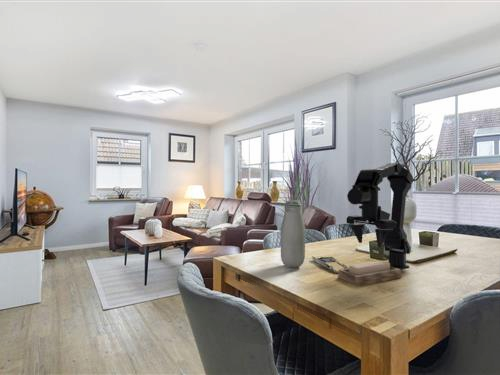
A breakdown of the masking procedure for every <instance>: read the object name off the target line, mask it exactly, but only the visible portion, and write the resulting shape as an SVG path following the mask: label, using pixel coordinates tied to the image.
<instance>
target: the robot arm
mask: <svg viewBox="0 0 500 375" xmlns="http://www.w3.org/2000/svg"><path fill="white" fill-rule="evenodd" d="M385 178H386V180H387V181H388V182H389V187H390V189H391V191H392V194H393V195H392V204H391V213H389V212H387V211H384V210H382V207H381V205H379V191H381V188H380V187H379V185H380V184H381V183H382V182H383V180H384V179H385ZM413 182H414V177H413V175H412V173H411V171H409V169H407V168H405V167H403V166H402V165H401V163H399V162H392V163H391V162H389V163H386V164H385V165H382V166H380V167H377V168H375V169H361V170H360V171H359V173H358V174H357V176H356V180H355V182H354V184H353V185H352V187H351V189H349V190H348V193H347V194H346V196H347V201H348V202H349V204H351V205H353V206H354V205H359V206H358V209H361V215H348V216H347V217H346V224H348V226H349V227H350V229H351V230H352V232H353V233H354V236H355V237H356V239H357V241H358V243H359V244H362V243H363V234H364V232H363V231H364V227H365V226H366V225H372V226H375V228H374V232H375V238H376V243H377V244H376V245H377V248H379V249H380V248H382V247H383V246H384V250H385V251H386V252H387V251H388V263H390V266H391V267H394V268H398V269H406V268H410V265H407V255H410V253H411V252H412V248H411V245H410V243H409V241H408V239H407V238H408V236H407V233H406V231H405V229H404V222H405V210H406V200H407V194H408V192H409V191H410V190H411V188H412V184H413Z"/></svg>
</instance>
